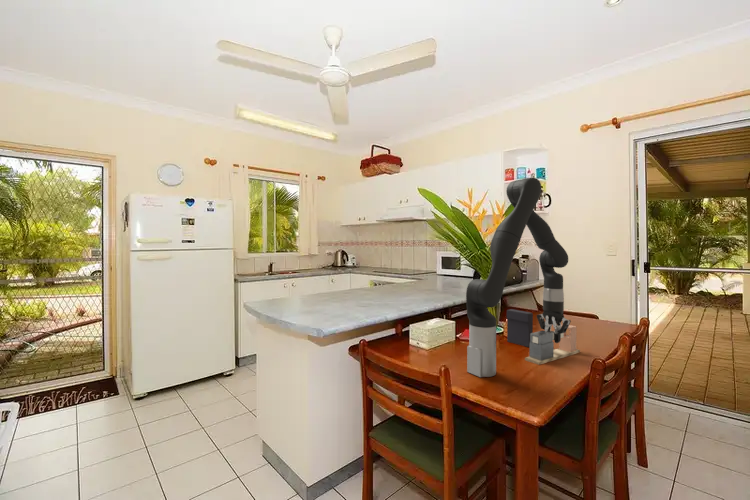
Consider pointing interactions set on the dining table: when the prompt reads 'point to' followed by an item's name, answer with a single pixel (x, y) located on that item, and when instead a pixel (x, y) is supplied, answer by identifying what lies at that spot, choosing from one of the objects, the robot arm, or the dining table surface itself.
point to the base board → (557, 355)
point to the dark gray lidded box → (519, 327)
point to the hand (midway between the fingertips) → (552, 341)
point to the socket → (569, 340)
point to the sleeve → (541, 346)
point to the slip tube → (536, 339)
